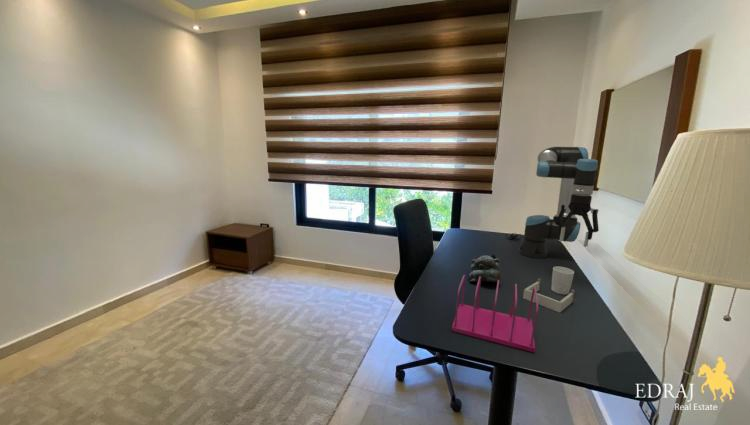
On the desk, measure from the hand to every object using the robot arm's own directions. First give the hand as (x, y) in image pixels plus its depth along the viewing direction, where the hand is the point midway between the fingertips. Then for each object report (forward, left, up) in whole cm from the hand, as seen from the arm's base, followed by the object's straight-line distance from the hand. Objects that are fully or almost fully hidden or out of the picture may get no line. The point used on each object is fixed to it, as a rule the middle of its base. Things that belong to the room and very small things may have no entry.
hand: (573, 243), depth 135 cm
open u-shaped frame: (+25, +2, -19) cm, 32 cm away
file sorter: (+62, -2, -20) cm, 65 cm away
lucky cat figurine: (+31, -25, -20) cm, 44 cm away
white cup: (+12, +2, -20) cm, 23 cm away
